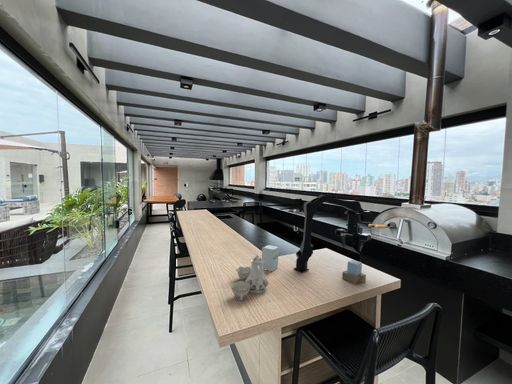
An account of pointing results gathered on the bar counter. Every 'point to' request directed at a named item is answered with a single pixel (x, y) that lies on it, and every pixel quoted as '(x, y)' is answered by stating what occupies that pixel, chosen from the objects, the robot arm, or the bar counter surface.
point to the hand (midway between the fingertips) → (351, 249)
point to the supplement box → (270, 257)
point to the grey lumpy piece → (250, 279)
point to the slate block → (354, 267)
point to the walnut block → (354, 278)
